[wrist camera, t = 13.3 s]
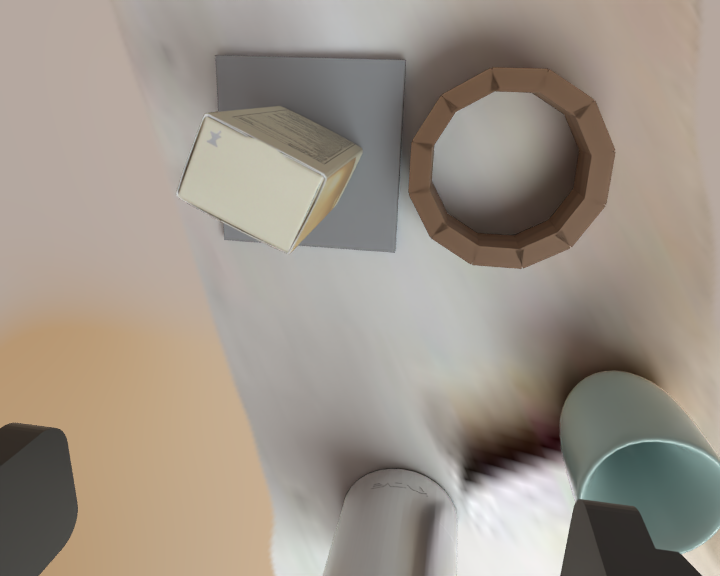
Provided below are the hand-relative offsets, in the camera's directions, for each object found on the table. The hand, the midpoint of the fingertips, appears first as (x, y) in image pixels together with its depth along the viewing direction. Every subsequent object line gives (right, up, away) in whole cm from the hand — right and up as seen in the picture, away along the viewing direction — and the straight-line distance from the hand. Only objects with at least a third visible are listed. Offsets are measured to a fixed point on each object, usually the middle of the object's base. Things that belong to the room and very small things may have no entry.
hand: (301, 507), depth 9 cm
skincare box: (-2, +12, +28) cm, 31 cm away
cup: (+18, -5, +31) cm, 36 cm away
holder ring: (+10, +11, +27) cm, 31 cm away
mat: (-2, +12, +29) cm, 31 cm away
